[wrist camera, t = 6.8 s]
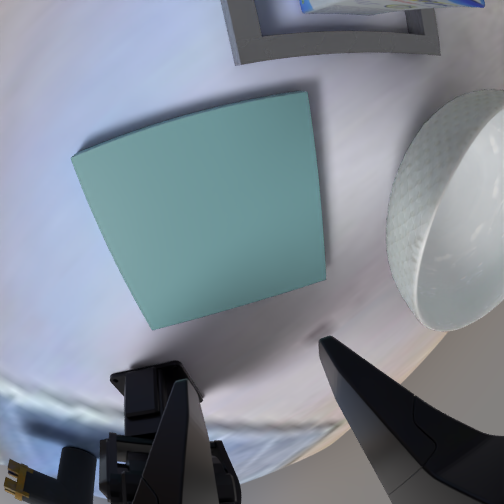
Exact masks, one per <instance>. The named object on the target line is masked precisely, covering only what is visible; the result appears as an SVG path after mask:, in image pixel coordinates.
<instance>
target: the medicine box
mask: <svg viewBox="0 0 504 504" xmlns="http://www.w3.org/2000/svg"><path fill="white" fill-rule="evenodd" d="M299 1H300V5H301V9H302V12H303V13H304V14H314V13H328V14H356V15H375V14H381V13H387V12H394V11H403V10H414V9H425V8H440V7H480V8H484V7H485V2H484V0H299Z"/></svg>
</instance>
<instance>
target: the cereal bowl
mask: <svg viewBox="0 0 504 504" xmlns="http://www.w3.org/2000/svg"><path fill="white" fill-rule="evenodd" d="M386 221H387V226H386V244H387V250H386V251H387V254H388V262H389V264H390V270H391V272H392V276H393V279H394V281H395V283H396V285H397V288H398V290H399V291H400V293H401V296H402V298H403V299H404V300H405V301H406V303H407V305H408V307H409V308H410V309H411V311H412V312H413V314H414V315H415V317H416V318H417V319H418V321H419V322H420V323H421V324H423V325H424V326H425V327H427V328H429V329H431V330H435V331H442V332H444V331H452V330H456V329H460V328H462V327H465V326H467V325H469V324H471V323H473V322H475V321H477V320H478V319H480V318H481V317H483V316H485V315H486V314H487V313H489V312H490V311H491V310H492V309H494V308H495V307H496V306H497V305H498V304H499V303H500V302H501V301H503V300H504V90H495V89H491V90H485V89H484V90H481V91H473V92H471V93H467V94H463V95H462V96H460V97H456V98H455V99H454V100H452V101H449V102H448V103H446V104H445V106H444V107H442V108H440V109H439V110H438V111H437V113H435V114H433V115H432V117H431V118H430V120H428V121H427V122H426V123H425V124H423V127H422V128H421V130H420V131H419V132H418V134H417V135H416V137H415V139H414V140H413V142H412V143H411V145H410V147H409V148H408V150H407V152H406V154H405V155H404V159H403V161H402V163H401V164H400V168H399V169H398V173H397V176H396V178H395V181H394V183H393V188H392V192H391V195H390V199H389V205H388V215H387V218H386Z"/></svg>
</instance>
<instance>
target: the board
mask: <svg viewBox="0 0 504 504" xmlns="http://www.w3.org/2000/svg"><path fill="white" fill-rule="evenodd" d="M71 160H72V163H73V166H74V168H75V171H76V174H77V176H78V179H79V181H80V184H81V187H82V189H83V192H84V194H85V196H86V199H87V201H88V204H89V206H90V208H91V211H92V213H93V215H94V218H95V220H96V222H97V224H98V227H99V229H100V231H101V233H102V235H103V238H104V240H105V242H106V244H107V246H108V248H109V250H110V252H111V254H112V256H113V258H114V261H115V263H116V265H117V267H118V269H119V271H120V273H121V274H122V276H123V278H124V280H125V282H126V284H127V286H128V288H129V290H130V292H131V294H132V295H133V297H134V299H135V301H136V303H137V305H138V306H139V308H140V310H141V312H142V314H143V315H144V317H145V319H146V321H147V322H148V324H149V326H150V327H151V329H152V330H156V329H160V328H163V327H167V326H171V325H175V324H179V323H182V322H186V321H190V320H193V319H197V318H201V317H204V316H208V315H211V314H215V313H219V312H222V311H226V310H229V309H233V308H236V307H239V306H243V305H246V304H250V303H253V302H256V301H260V300H263V299H266V298H270V297H273V296H276V295H279V294H283V293H286V292H289V291H292V290H295V289H298V288H302V287H305V286H308V285H311V284H314V283H317V282H320V281H323V280H326V267H325V250H324V235H323V222H322V210H321V199H320V188H319V178H318V169H317V160H316V151H315V143H314V135H313V127H312V120H311V113H310V106H309V99H308V92H305V91H294V92H288V93H282V94H276V95H270V96H265V97H260V98H254V99H249V100H245V101H240V102H235V103H231V104H226V105H222V106H218V107H214V108H210V109H206V110H202V111H198V112H194V113H191V114H187V115H184V116H180V117H177V118H173V119H170V120H166V121H163V122H160V123H157V124H154V125H150V126H147V127H144V128H141V129H138V130H135V131H133V132H130V133H127V134H124V135H121V136H118V137H116V138H113V139H110V140H108V141H105V142H103V143H100V144H97V145H95V146H92V147H90V148H87V149H85V150H83V151H80V152H78V153H76V154H75V155H74V156H72V157H71Z"/></svg>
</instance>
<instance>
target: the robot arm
mask: <svg viewBox="0 0 504 504" xmlns="http://www.w3.org/2000/svg"><path fill="white" fill-rule="evenodd" d="M319 357H320V360H321V363H322V366H323V368H324V371H325V373H326V376H327V378H328V381H329V384H330V386H331V389H332V391H333V394H334V396H335V399H336V401H337V403H338V405H339V407H340V408H341V410H342V412H343V414H344V416H345V418H346V419H347V421H348V423H349V425H350V427H351V429H352V430H353V432H354V434H355V436H356V438H357V439H358V441H359V443H360V445H361V447H362V448H363V450H364V452H365V454H366V456H367V458H368V460H369V461H370V463H371V465H372V467H373V468H374V471H375V472H376V474H377V476H378V478H379V480H380V481H381V483H382V485H383V487H384V489H385V491H386V493H387V494H388V496H389V498H390V500H391V502H392V504H504V436H495V435H489V434H486V433H483V432H480V431H478V430H475V429H474V428H472V427H470V426H468V425H466V424H464V423H462V422H460V421H458V420H455V419H454V418H452V417H450V416H447V415H446V414H444V413H442V412H441V411H439V410H437V409H435V408H433V407H432V406H431V405H429V404H427V403H426V402H424V401H423V400H422V399H420V398H419V397H417V396H414V394H413V393H411V392H410V391H409V390H407V389H406V388H404V387H403V386H401V385H400V384H399V383H397V382H396V381H394V380H393V379H392V378H390V377H389V376H387V375H386V374H384V373H383V372H382V371H380V370H379V369H377V368H376V367H375V366H373V365H372V364H370V363H369V362H368V361H366V360H365V359H363V358H362V357H361V356H359V355H358V354H356V353H355V352H354V351H352V350H351V349H349V348H348V347H347V346H345V345H344V344H343V343H341V342H340V341H338V340H337V339H336V338H334V337H333V336H327V337H324V338H321V339H320V340H319ZM110 381H111V383H112V384H113V385H114V386H115V387H116V388H117V389H118V390H119V392H120V393H121V394H122V395H123V396H124V416H125V436H124V435H117V434H116V433H111V432H109V439H108V438H107V439H104V440H100V467H99V490H100V491H101V492H102V493H103V494H104V495H105V496H106V497H107V499H108V502H110V503H111V504H241V488H240V483H239V480H238V477H237V475H236V473H235V471H234V468H233V466H232V464H231V462H230V459H229V457H228V455H227V452H226V450H225V448H224V445H223V443H222V441H221V440H215V441H209V437H208V433H207V429H206V425H205V421H204V417H203V414H202V410H201V406H200V403H201V402H202V401H203V398H202V395H201V394H200V392H199V391H198V389H197V387H196V386H195V384H194V383H193V381H192V380H191V378H190V376H189V375H188V373H187V372H186V370H185V368H184V367H183V365H182V363H181V362H179V361H171V362H167V363H162V364H158V365H153V366H149V367H145V368H140V369H135V370H131V371H126V372H121V373H116V374H112V375H111V376H110ZM117 461H120V462H126V464H119V463H117Z"/></svg>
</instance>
